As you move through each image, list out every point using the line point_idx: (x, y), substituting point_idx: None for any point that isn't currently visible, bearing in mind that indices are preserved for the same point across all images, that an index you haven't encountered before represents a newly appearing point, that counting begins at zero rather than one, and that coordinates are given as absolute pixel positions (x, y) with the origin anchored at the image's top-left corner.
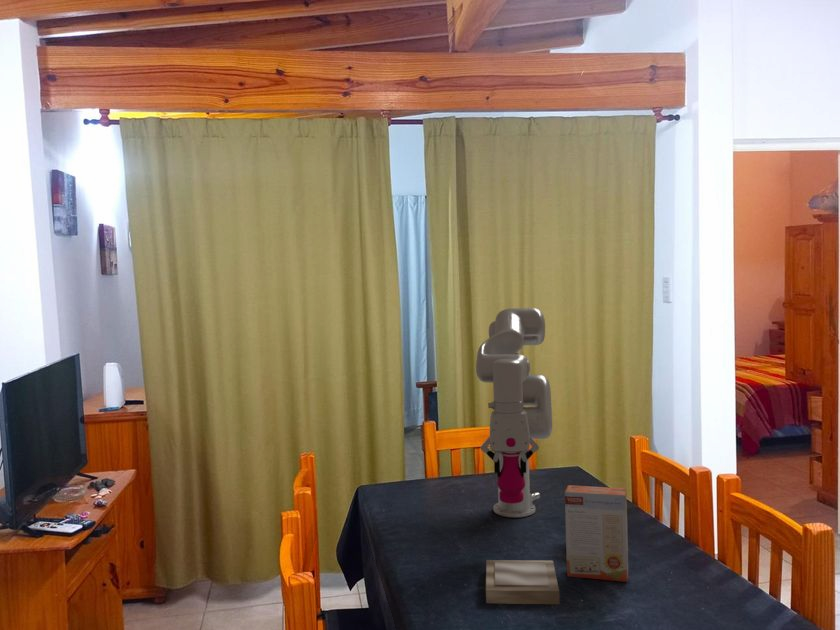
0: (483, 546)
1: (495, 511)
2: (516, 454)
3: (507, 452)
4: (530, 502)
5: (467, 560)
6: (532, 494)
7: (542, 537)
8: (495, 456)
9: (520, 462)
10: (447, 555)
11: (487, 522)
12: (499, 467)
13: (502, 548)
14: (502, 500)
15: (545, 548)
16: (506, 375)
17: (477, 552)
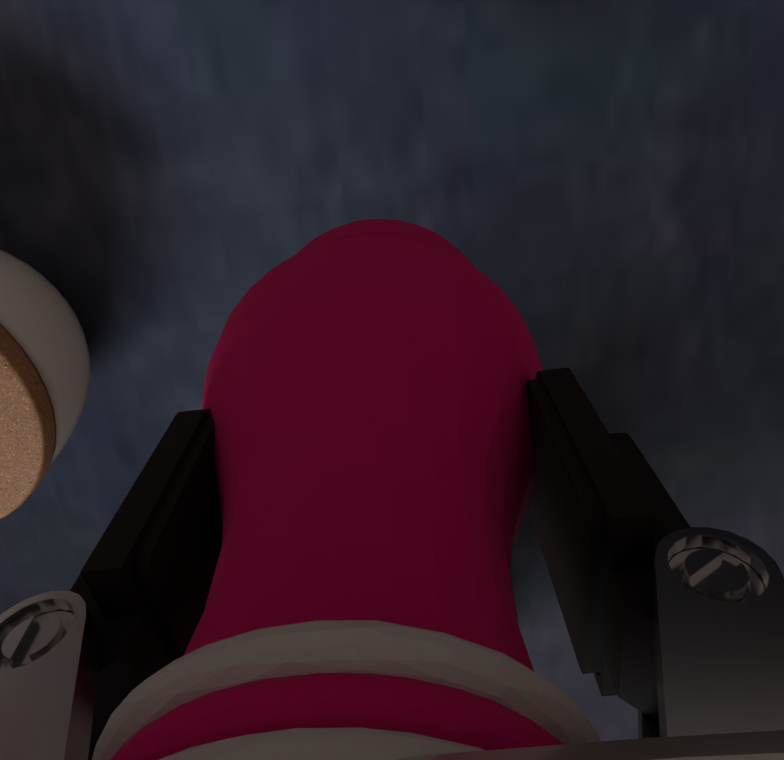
0: (542, 237)
1: None
2: (147, 721)
3: (420, 748)
4: None
5: (637, 14)
6: None
7: None
8: (758, 642)
9: (185, 618)
10: (754, 76)
11: (528, 510)
12: (570, 458)
13: (439, 225)
14: (459, 251)
15: (216, 256)
16: None
17: (575, 149)
